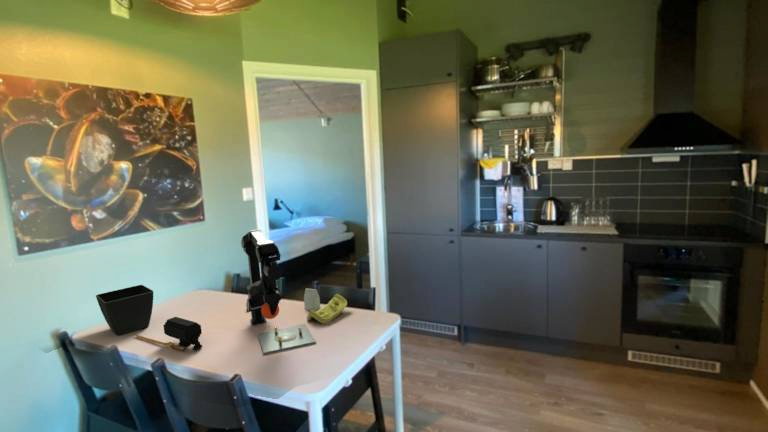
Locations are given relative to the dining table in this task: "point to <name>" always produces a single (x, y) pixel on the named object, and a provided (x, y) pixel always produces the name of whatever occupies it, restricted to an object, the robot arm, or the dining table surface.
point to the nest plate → (285, 339)
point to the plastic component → (329, 310)
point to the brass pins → (280, 336)
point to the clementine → (268, 311)
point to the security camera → (184, 332)
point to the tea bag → (311, 299)
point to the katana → (162, 343)
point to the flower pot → (127, 308)
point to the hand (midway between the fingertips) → (271, 312)
